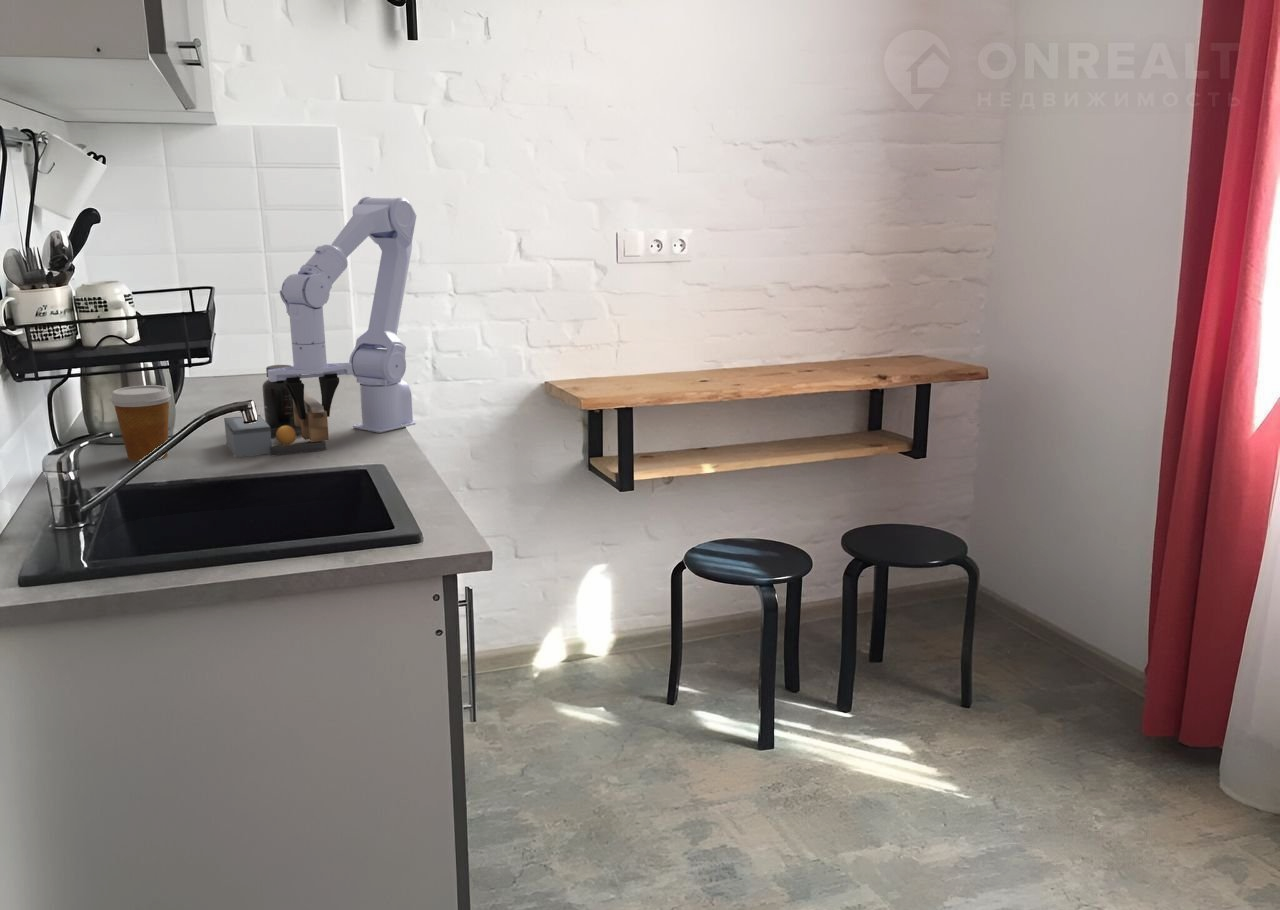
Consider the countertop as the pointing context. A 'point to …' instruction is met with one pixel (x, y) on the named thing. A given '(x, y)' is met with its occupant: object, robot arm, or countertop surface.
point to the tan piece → (312, 420)
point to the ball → (286, 435)
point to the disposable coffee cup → (142, 418)
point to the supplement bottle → (277, 402)
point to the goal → (247, 437)
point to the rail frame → (295, 445)
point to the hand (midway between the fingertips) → (314, 417)
